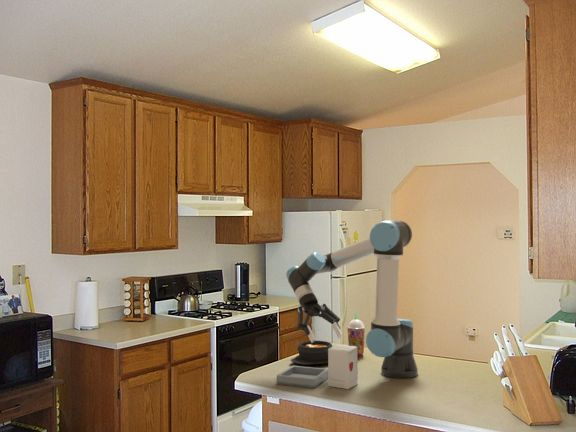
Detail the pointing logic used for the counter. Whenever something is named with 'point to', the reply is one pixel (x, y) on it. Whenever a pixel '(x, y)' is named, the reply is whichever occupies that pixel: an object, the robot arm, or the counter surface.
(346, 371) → the supplement box
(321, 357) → the casserole
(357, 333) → the smoothie
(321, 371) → the tray
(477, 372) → the counter surface
